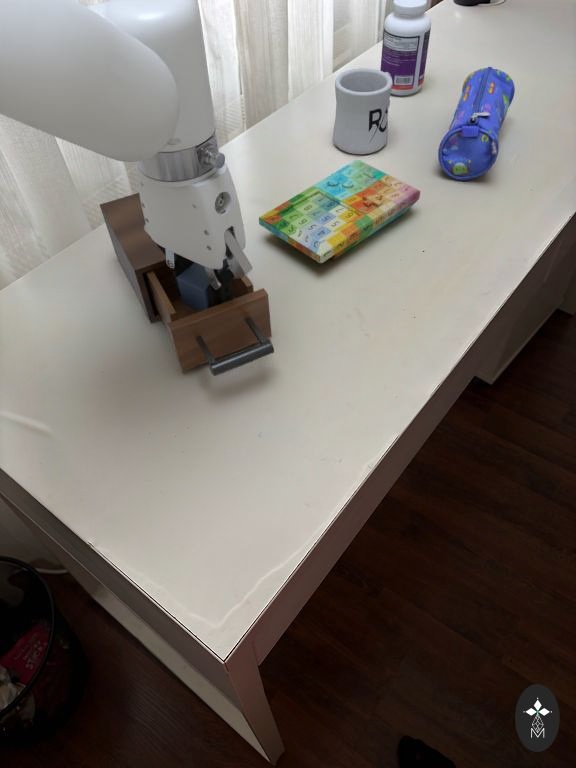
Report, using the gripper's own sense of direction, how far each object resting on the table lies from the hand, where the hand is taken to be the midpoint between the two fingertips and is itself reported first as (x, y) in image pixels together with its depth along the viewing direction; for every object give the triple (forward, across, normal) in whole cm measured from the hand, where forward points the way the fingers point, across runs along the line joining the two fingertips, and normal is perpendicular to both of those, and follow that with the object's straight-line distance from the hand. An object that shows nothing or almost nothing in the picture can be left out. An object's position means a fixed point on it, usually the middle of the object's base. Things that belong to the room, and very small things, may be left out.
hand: (205, 297), depth 68 cm
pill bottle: (+6, +11, -68) cm, 69 cm away
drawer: (+5, -1, 0) cm, 5 cm away
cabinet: (+6, +11, -6) cm, 14 cm away
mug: (+6, +7, -49) cm, 50 cm away
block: (+1, 0, 0) cm, 1 cm away
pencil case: (+6, -9, -55) cm, 56 cm away
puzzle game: (+6, -2, -26) cm, 27 cm away
